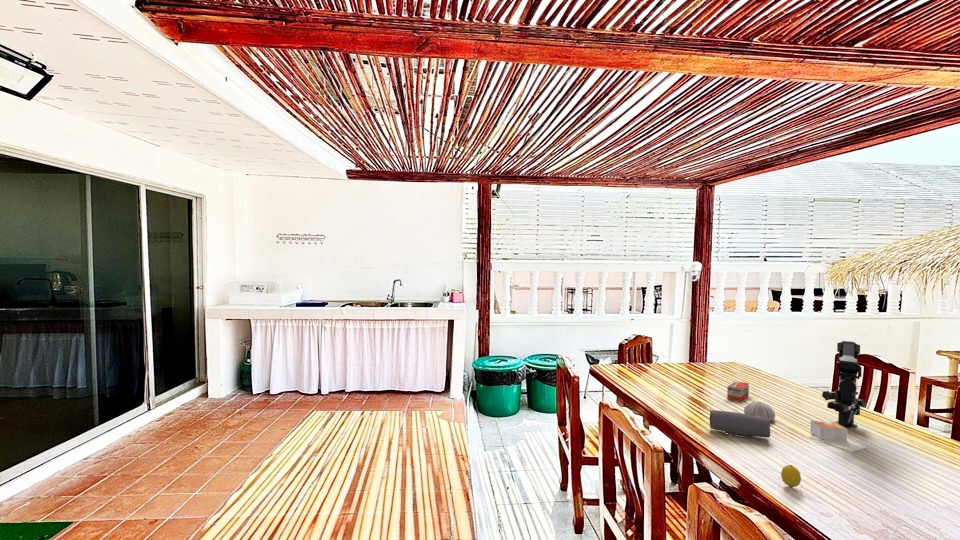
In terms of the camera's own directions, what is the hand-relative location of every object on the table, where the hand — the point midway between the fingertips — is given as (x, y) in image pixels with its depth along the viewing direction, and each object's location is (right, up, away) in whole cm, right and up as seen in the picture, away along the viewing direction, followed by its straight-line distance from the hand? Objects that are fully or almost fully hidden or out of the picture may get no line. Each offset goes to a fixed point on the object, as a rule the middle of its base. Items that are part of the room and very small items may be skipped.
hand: (846, 423), depth 186 cm
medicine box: (-13, -6, +58) cm, 59 cm away
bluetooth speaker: (-45, -7, +5) cm, 46 cm away
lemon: (-54, -8, -40) cm, 68 cm away
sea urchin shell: (-22, -7, +26) cm, 34 cm away
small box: (0, -5, +2) cm, 5 cm away
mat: (-6, -8, -2) cm, 10 cm away
